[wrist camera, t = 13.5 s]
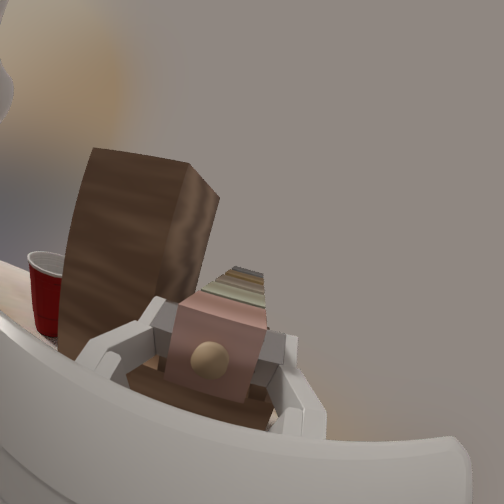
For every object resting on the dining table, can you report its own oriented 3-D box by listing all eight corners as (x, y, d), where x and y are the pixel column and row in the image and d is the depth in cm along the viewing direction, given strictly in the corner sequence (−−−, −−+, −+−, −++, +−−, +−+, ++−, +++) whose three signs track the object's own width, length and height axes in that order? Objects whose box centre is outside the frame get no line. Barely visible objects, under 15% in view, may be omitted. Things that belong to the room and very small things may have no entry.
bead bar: (242, 410, 8) (267, 334, 8) (158, 385, 8) (173, 307, 8) (255, 301, 28) (263, 273, 28) (227, 293, 28) (234, 265, 28)
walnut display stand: (226, 510, 15) (340, 193, 14) (54, 438, 15) (78, 139, 14) (239, 417, 31) (299, 220, 30) (120, 376, 31) (157, 184, 30)
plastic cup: (51, 353, 28) (55, 273, 28) (12, 322, 29) (15, 251, 29) (92, 335, 39) (100, 268, 39) (52, 312, 40) (59, 251, 40)
